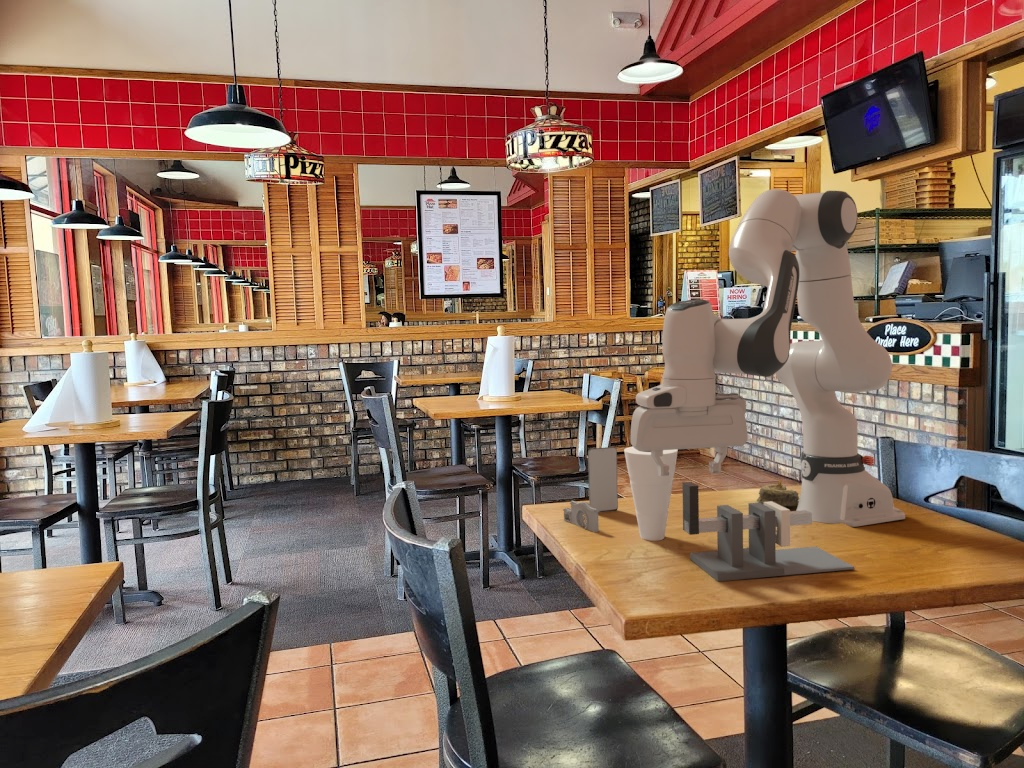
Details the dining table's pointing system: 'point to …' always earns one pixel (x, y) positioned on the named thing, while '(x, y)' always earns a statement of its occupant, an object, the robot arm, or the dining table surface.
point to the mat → (808, 561)
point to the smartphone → (603, 478)
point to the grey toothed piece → (577, 514)
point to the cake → (778, 495)
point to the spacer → (781, 523)
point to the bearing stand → (732, 555)
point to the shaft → (715, 524)
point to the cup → (650, 490)
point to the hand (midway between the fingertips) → (689, 473)
